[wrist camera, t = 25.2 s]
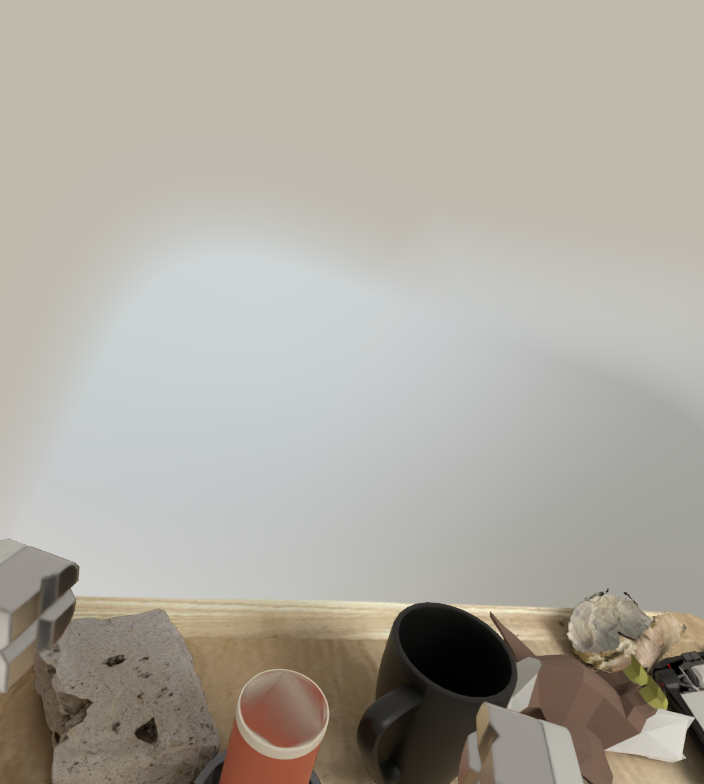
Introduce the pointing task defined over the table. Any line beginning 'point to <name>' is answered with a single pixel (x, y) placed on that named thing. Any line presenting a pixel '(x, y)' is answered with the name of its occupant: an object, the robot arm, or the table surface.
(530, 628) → the table surface
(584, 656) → the stone fragment
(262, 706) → the canister
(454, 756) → the mug
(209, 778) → the bowl
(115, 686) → the stone
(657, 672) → the toy car
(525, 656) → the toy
